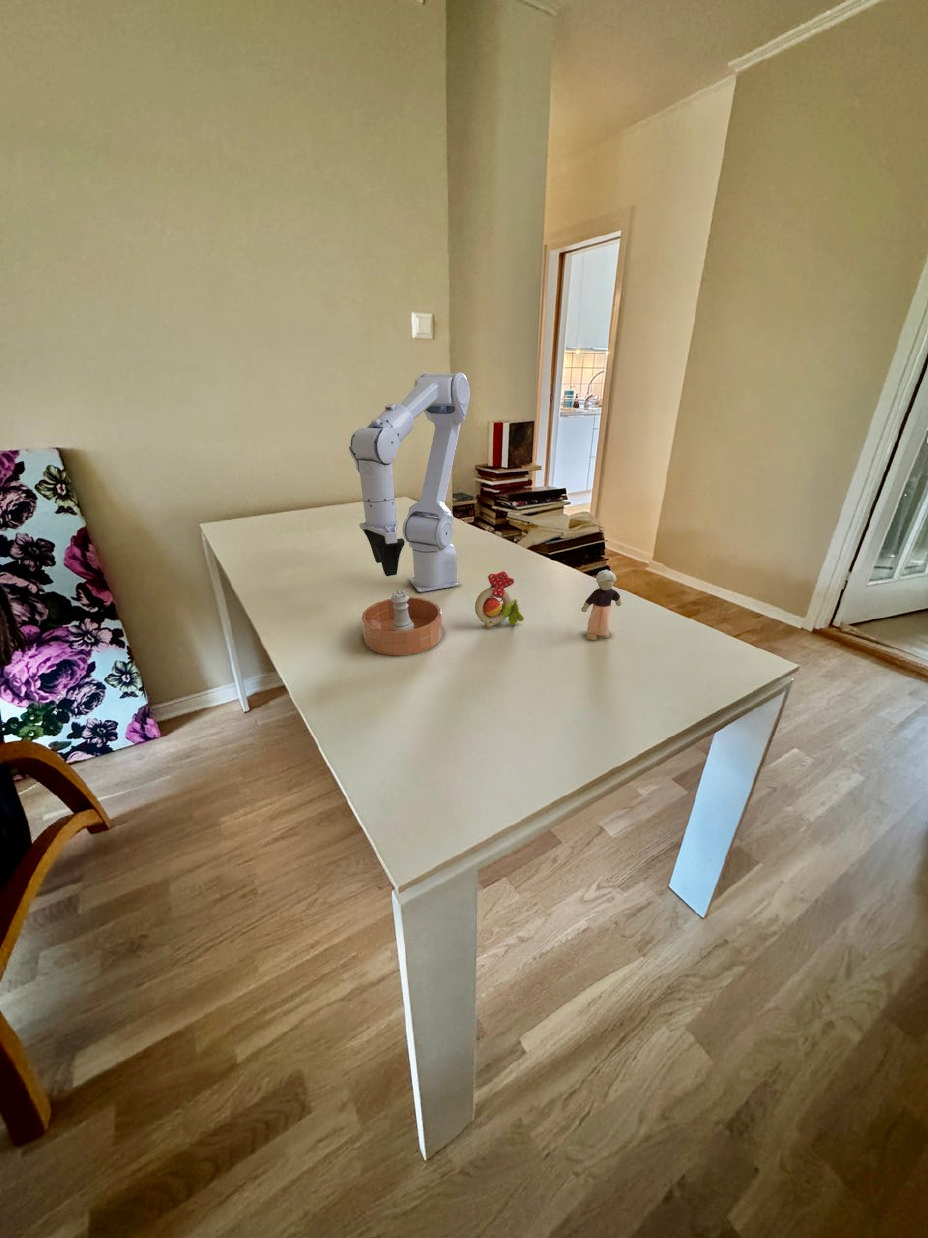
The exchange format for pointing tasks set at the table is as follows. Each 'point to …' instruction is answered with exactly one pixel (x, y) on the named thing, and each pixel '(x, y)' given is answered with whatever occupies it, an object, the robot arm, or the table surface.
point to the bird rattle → (497, 602)
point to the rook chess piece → (401, 612)
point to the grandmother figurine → (601, 605)
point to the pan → (402, 642)
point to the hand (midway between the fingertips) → (386, 568)
